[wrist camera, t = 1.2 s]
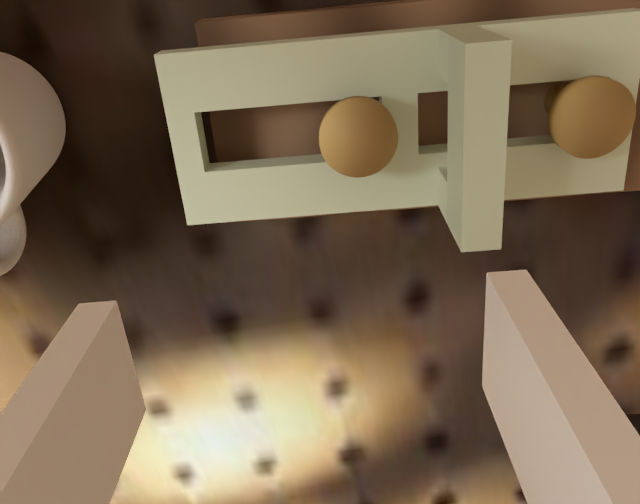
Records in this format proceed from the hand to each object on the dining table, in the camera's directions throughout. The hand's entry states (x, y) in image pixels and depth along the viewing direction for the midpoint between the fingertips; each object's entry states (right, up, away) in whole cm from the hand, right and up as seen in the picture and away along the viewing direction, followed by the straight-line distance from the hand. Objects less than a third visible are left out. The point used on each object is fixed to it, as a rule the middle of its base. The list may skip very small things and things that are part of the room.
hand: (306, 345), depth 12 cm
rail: (+8, +10, +19) cm, 23 cm away
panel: (+4, +8, +16) cm, 19 cm away
